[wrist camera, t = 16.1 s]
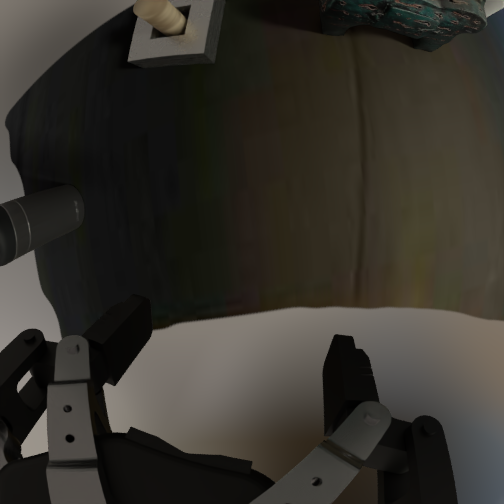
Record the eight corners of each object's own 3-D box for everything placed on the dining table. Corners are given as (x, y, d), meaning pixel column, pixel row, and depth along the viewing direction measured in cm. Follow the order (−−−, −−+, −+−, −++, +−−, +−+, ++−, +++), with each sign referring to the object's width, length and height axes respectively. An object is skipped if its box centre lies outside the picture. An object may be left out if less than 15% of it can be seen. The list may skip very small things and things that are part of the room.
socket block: (144, 68, 34) (127, 61, 30) (156, 9, 30) (143, -2, 25) (214, 63, 33) (203, 53, 28) (225, 1, 29) (216, -13, 24)
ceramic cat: (434, 32, 25) (498, -15, 6) (441, 66, 27) (516, 30, 8) (315, 11, 28) (321, -71, 9) (318, 45, 30) (332, -32, 12)
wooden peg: (169, 44, 33) (130, 18, 21) (174, 24, 31) (137, -5, 20) (193, 42, 32) (158, 12, 21) (197, 22, 31) (165, -12, 20)
